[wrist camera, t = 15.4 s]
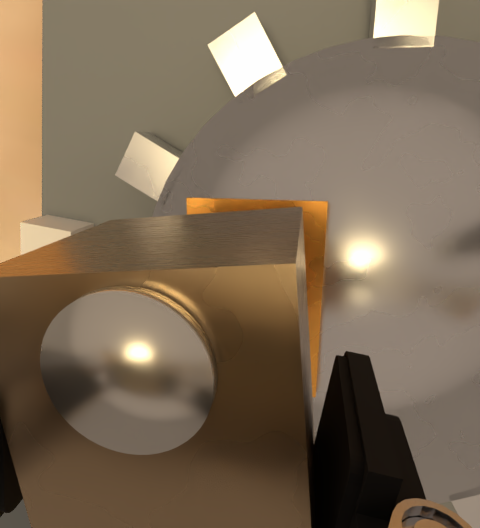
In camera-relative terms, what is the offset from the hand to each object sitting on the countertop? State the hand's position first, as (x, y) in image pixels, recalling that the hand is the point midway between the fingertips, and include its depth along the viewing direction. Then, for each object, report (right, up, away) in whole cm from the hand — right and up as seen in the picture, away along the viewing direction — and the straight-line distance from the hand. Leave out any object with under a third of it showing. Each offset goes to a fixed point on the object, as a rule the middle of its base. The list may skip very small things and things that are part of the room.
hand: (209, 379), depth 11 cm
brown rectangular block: (0, 0, +1) cm, 1 cm away
